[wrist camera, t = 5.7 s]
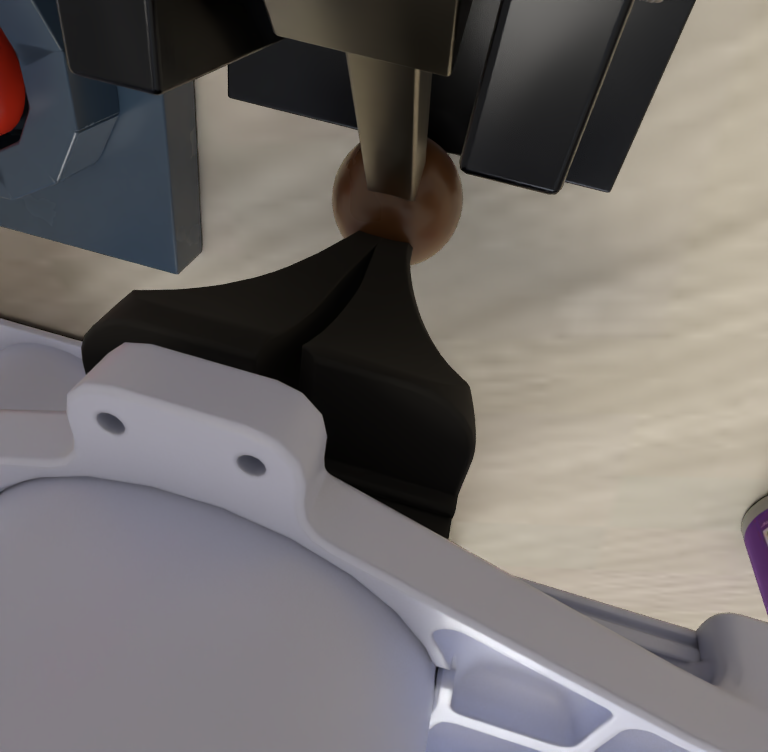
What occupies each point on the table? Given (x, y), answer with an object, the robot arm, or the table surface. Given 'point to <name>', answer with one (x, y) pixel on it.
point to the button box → (97, 155)
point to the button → (10, 87)
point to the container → (758, 543)
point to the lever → (389, 112)
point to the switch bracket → (448, 94)
